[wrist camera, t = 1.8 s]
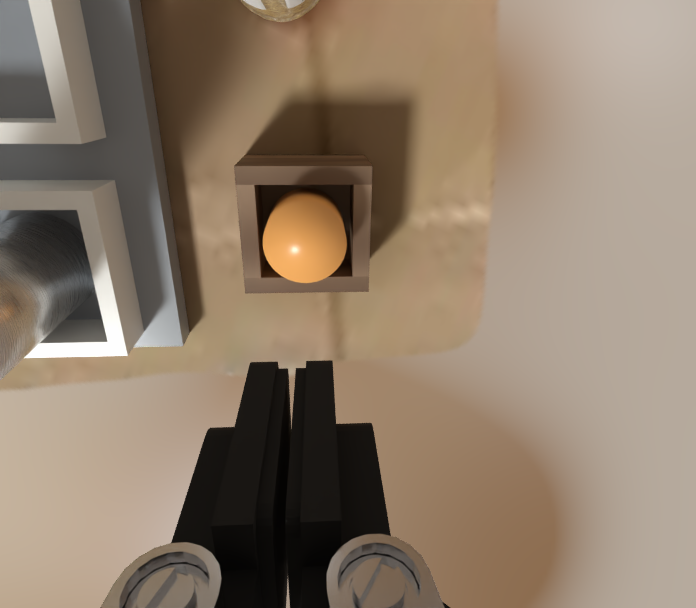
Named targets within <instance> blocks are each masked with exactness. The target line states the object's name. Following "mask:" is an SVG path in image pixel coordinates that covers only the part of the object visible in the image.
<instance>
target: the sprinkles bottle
mask: <svg viewBox="0 0 696 608" xmlns="http://www.w3.org/2000/svg"><path fill="white" fill-rule="evenodd" d="M240 1H241V2H242V3H243V4H244V5H245V6H246V7H247V8H248V9H249V10H250V11H251V12H253V13H255V14H257V15H259V16H261V17H262V18H264V19H266V20H271V21H276V22H288V21H292V20H294V19H297V18H300V17H302V16H303V15H304V14H305V13H307V12H309V11H310V10H311V9H312V8H313V7H314V6H315V5H316V4H317V3H318V1H319V0H240Z"/></svg>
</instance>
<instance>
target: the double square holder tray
mask: <svg viewBox="0 0 696 608" xmlns="http://www.w3.org/2000/svg"><path fill="white" fill-rule="evenodd" d="M27 213H42V214H48V215H52V216H55V217H58V218H60V219H63V220H65V221H66V222H68V223H70V224H71V225H73V226H74V227H76V228H77V229H78V230H79V231H81V232H82V234H83V238H84V242H85V247H86V251H87V255H88V259H89V264H90V268H91V272H92V277H93V281H94V285H95V290H94V291H93V293H92V294H91V295H90V296H89V297H88V298H87V299H86V300H85V301H84V302H83V303H82V304H80V305H79V306H78V307H77V308H76V309H75V310H74V311H73V312H72V313H71V314H70V315H69V316H68V317H67V318H66V319H65V320H64V321H62V322H61V323H60V324H59V325H58V326H57V327H56V328H55V329H54V330H53V331H52V332H51V333H50V334H49V335H48V336H47V337H46V338H44V339H43V340H42V341H41V342H40V343H39V344H38V345H37V346H36V347H35V348H34V349H33V350H32V351H31V352H30V353H29V354H28V355H26V356H25V357H24V358H44V357H89V356H128V354H129V353H130V351H131V350H132V349H133V347H165V346H183V345H184V343H185V341H186V339H187V337H188V335H189V333H190V332H189V326H188V319H187V312H186V305H185V299H184V292H183V285H182V278H181V272H180V265H179V258H178V251H177V245H176V238H175V231H174V224H173V218H172V211H171V204H170V198H169V191H168V184H167V177H166V171H165V164H164V157H163V150H162V144H161V137H160V130H159V123H158V117H157V110H156V103H155V96H154V90H153V83H152V76H151V69H150V63H149V56H148V49H147V42H146V36H145V29H144V22H143V15H142V9H141V2H140V0H0V223H2V222H5V221H7V220H9V219H11V218H13V217H16V216H19V215H22V214H27Z"/></svg>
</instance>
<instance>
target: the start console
mask: <svg viewBox="0 0 696 608" xmlns="http://www.w3.org/2000/svg"><path fill="white" fill-rule="evenodd" d="M234 170H235V181H236V192H237V204H238V215H239V226H240V238H241V249H242V260H243V272H244V283H245V293H305V292H369V261H370V229H371V197H372V165H371V163H370V162H369V160H368V159H367V157H366V156H365V155H245V156H244V157H243V158H242V159H241V160H240V161H239V162H238V163H237V164H236V165H235V166H234ZM299 188H311V189H316V190H319V191H321V192H323V193H325V194H327V195H328V196H329V197H331V198H332V199H333V200H334V201H335V203H336V204H337V206H338V207H339V209H340V211H341V214H342V218H343V223H344V228H345V234H346V239H347V248H346V253H345V256H344V259H343V261H342V263H341V265H340V266H339V267H338V269H337V270H336V271H335V272H334V273H332V274H331V275H330V276H328V277H327V278H325V279H323V280H320V281H317V282H312V283H299V282H294V281H291V280H288V279H286V278H284V277H283V276H281V275H280V274H278V273H277V272H276V271H275V270H274V269H273V268H272V267H271V265H270V264H269V262H268V261H267V259H266V256H265V254H264V250H263V234H264V231H265V227H266V225H267V222H268V219H269V216H270V213H271V210H272V208H273V206H274V205H275V203H276V202H277V201H278V199H279V198H281V197H282V196H283V195H284V194H286V193H288V192H290V191H292V190H295V189H299Z"/></svg>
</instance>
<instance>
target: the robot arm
mask: <svg viewBox="0 0 696 608" xmlns="http://www.w3.org/2000/svg"><path fill="white" fill-rule="evenodd" d="M333 381H334V380H333V363H332V361H306V368H296V375H295V390H294V403H293V417H292V429H291V415H290V395H289V375H288V369H279V368H278V362H251V363H250V365H249V370H248V374H247V378H246V382H245V386H244V391H243V395H242V399H241V403H240V407H239V411H238V415H237V419H236V424H235V427H223V428H210V429H208V431H207V433H206V436H205V439H204V442H203V445H202V448H201V451H200V454H199V457H198V461H197V464H196V467H195V470H194V473H193V476H192V480H191V483H190V486H189V489H188V492H187V495H186V498H185V502H184V505H183V508H182V511H181V514H180V517H179V520H178V524H177V527H176V530H175V533H174V536H173V539H172V542H171V543H170V544H167V545H163V546H160V547H157V548H154V549H152V550H150V551H149V552H147V553H145V554H143V555H141V556H140V557H138V558H137V559H136V560H135V561H134V562H133V563H132V564H130V565H129V566H128V567H127V568H126V569H124V571H123V572H122V574H121V575H120V576H119V578H118V579H117V580H116V582H115V583H114V584H113V586H112V588H111V590H110V592H109V593H108V595H107V597H106V599H105V600H104V602H103V604H102V606H101V607H100V608H286V596H287V579H288V580H289V581H288V582H289V597H290V608H450V607H449V606H447V605H446V604H445V603H443V602H442V600H441V598H440V595H439V592H438V590H437V588H436V585H435V582H434V580H433V577H432V575H431V572H430V570H429V568H428V566H427V564H426V563H425V561H424V559H423V557H422V556H421V555H420V554H419V553H418V552H417V551H416V550H415V549H414V548H413V547H412V546H411V545H410V544H408V543H406V542H404V541H402V540H400V539H399V538H397V537H393V536H391V535H390V529H389V523H388V517H387V510H386V504H385V498H384V492H383V486H382V480H381V474H380V468H379V462H378V456H377V449H376V443H375V437H374V431H373V426H372V424H371V423H357V424H356V423H355V424H336V416H335V399H334V382H333Z"/></svg>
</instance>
